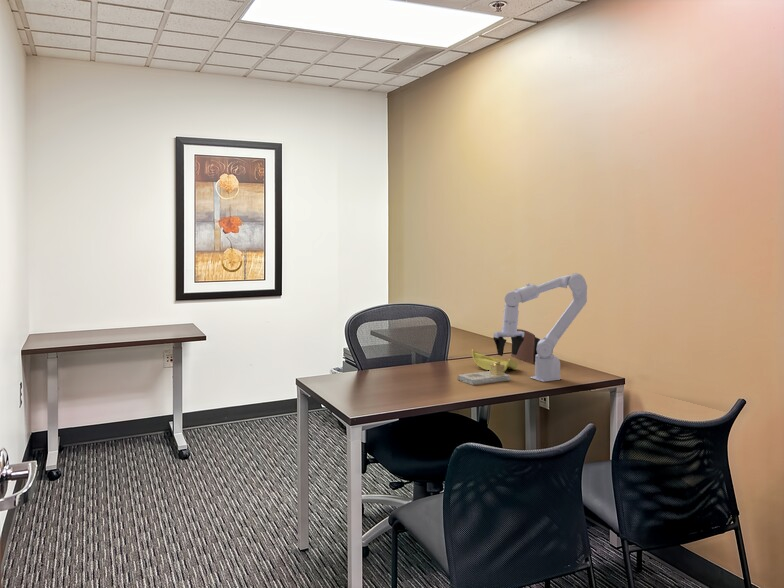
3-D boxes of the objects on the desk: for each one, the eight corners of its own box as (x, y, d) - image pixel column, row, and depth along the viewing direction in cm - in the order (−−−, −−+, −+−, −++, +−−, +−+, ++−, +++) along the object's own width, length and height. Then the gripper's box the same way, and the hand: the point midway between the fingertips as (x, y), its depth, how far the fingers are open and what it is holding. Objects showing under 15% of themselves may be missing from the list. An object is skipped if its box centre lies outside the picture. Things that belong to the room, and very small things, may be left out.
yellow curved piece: (519, 364, 263) (508, 357, 256) (514, 380, 262) (503, 374, 254) (481, 354, 276) (470, 347, 269) (476, 370, 275) (464, 363, 268)
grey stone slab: (494, 375, 252) (494, 370, 252) (510, 380, 243) (510, 375, 243) (457, 379, 244) (457, 374, 243) (472, 385, 235) (472, 379, 235)
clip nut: (498, 371, 249) (498, 361, 249) (504, 373, 245) (504, 362, 245) (490, 372, 247) (490, 361, 247) (496, 374, 244) (496, 363, 243)
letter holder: (532, 364, 275) (533, 333, 273) (510, 356, 293) (511, 327, 292) (552, 363, 278) (553, 332, 276) (529, 355, 296) (530, 326, 295)
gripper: (516, 319, 254) (513, 352, 255) (489, 320, 246) (486, 353, 247) (529, 322, 248) (525, 355, 249) (501, 322, 240) (498, 357, 241)
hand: (507, 354), depth 248 cm, fingers open, 7 cm apart
